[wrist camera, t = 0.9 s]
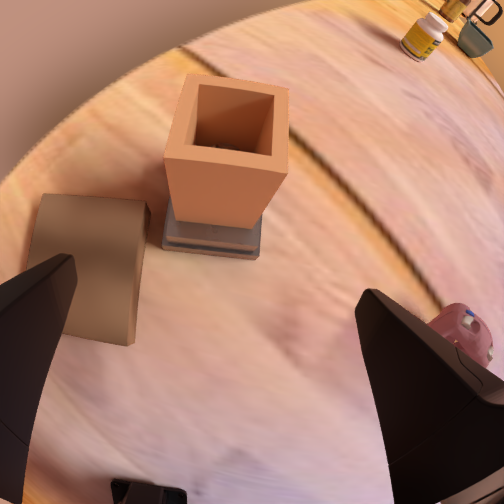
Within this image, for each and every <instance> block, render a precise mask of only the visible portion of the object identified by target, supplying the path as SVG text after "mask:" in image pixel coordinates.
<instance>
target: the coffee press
mask: <svg viewBox="0 0 504 504" xmlns="http://www.w3.org/2000/svg"><path fill="white" fill-rule="evenodd" d="M493 3H495V4H496V5H497V6H498V7H499V12H498V13H497V14H496V15H495V16H494V17H493V18H492V19H491V20H490V21H489V22H485V21H484V20H483V19H482V18H481V16H482V15H483V14H484V12H486V10H487V9H488V8H489V7H490V6H491V5H492V4H493ZM502 12H503V10H502V7H501V6H500V4H499V3H498V2H496V0H471V2H470V3H469V5H468V6H467V7H466V9H465V10H464V11H463V13H464V14H465V15H466V16H467V20H468V19H469V20H472V21H473V23H474V21H476V23H474V24H475V25H476V24H477V20H478V19H479V20H480V21H481V22H483V23H484V24H486V25H489V26H490V25H492V24H494V23H495V22H496V21H497V20H498V19H499V18H500V16H501V15H502Z"/></svg>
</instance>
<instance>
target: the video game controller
mask: <svg viewBox="0 0 504 504" xmlns="http://www.w3.org/2000/svg"><path fill="white" fill-rule="evenodd" d="M427 325H428V326H429V327H431V328H432V329H433V330H435V331H436V332H437V333H439V334H440V335H441V336H443V337H444V338H445V339H447V340H448V341H449V342H451V343H452V344H453V345H454V346H455V347H457V348H459V349H460V350H461V351H463V352H464V353H465V354H467V355H468V356H469V357H470V358H472V359H473V360H475V361H476V362H477V363H479V364H480V365H482V366H483V367H484V368H486V367H487V366H488V364H489V362H490V361H491V360H492V354H493V341H492V336H491V333H490V330H489V328H488V327H487V325H486V324H485V323H484V321H483V320H482V319H481V318H479V317H478V316H477V315H476V314H474V313H473V312H472V311H470V308H469V307H468V306H466V305H464V304H461V303H454V304H450V305H448V306H447V307H445V308H444V309H443V310H442V311H441V313H440V314H439V315H438V316H437V317H436V318H434V319H433V320H432V321H431V322H430V323H428V324H427ZM455 339H456V340H457V341H458V342H455V343H454V341H455Z"/></svg>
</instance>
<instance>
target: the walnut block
mask: <svg viewBox="0 0 504 504" xmlns="http://www.w3.org/2000/svg"><path fill="white" fill-rule="evenodd" d="M150 215H151V212H150V210H149V208H148V205H147V203H146V201H139V200H128V199H116V198H104V197H91V196H77V195H61V194H43V196H42V199H41V203H40V206H39V210H38V214H37V218H36V222H35V226H34V231H33V235H32V240H31V245H30V250H29V256H28V261H27V268H26V270H28V269H30V268H32V267H34V266H36V265H38V264H40V263H42V262H43V261H45V260H47V259H49V258H51V257H53V256H55V255H57V254H59V253H67V254H72V255H73V256H74V259H75V264H76V270H77V276H78V283H77V287H76V290H75V293H74V296H73V299H72V302H71V306H70V309H69V312H68V316H67V319H66V323H65V326H64V329H63V332H62V333H63V334H67V335H71V336H76V337H80V338H85V339H90V340H95V341H100V342H105V343H110V344H116V345H121V346H129V345H131V344H133V343H135V332H136V320H137V308H138V298H139V289H140V281H141V273H142V265H143V258H144V251H145V244H146V238H147V232H148V226H149V220H150Z"/></svg>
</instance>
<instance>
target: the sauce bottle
mask: <svg viewBox="0 0 504 504" xmlns="http://www.w3.org/2000/svg"><path fill="white" fill-rule="evenodd" d="M470 2H471V0H447V1H446V2H445V3H444V4H443V6H442V7H441V8H440V10H439V13H440V14H441V15H442V16H443V17H444V18H446V19H447V20H448V21H450V22H452V23H453V22H454V21H455V20H456V19H457V18H458V17H459V16H460V14H461V13H462V12H463V11H464V10H465V9H466V7H467V6H468V5H469V3H470Z"/></svg>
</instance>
